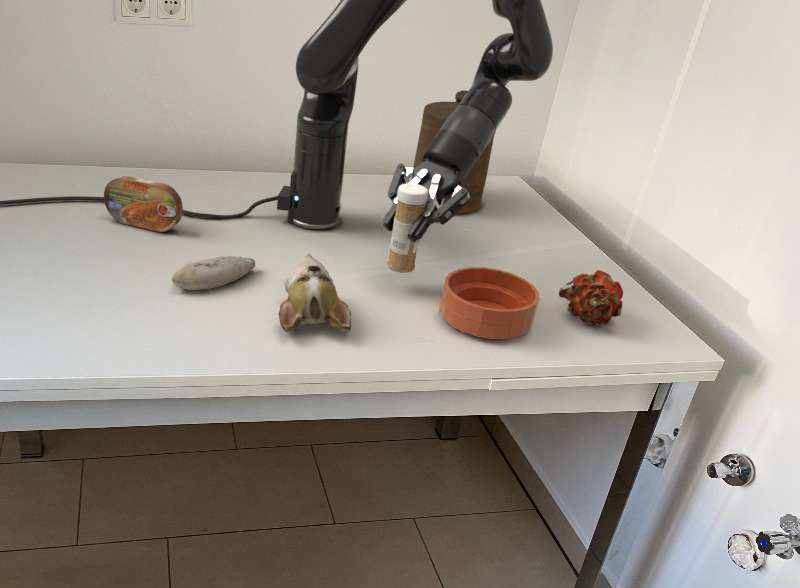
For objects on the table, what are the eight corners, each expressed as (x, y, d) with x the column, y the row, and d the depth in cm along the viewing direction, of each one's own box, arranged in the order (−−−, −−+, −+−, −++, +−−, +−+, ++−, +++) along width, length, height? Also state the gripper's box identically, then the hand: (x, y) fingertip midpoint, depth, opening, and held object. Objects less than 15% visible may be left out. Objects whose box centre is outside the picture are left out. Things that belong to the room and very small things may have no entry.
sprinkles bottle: (420, 270, 127) (434, 190, 119) (398, 276, 124) (411, 195, 117) (402, 259, 130) (415, 180, 122) (380, 264, 127) (392, 184, 120)
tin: (104, 219, 144) (101, 174, 139) (113, 213, 146) (110, 169, 141) (177, 237, 139) (176, 191, 135) (185, 230, 142) (185, 185, 137)
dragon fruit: (593, 348, 120) (566, 319, 131) (645, 319, 119) (613, 292, 129) (570, 304, 117) (544, 278, 128) (624, 274, 115) (593, 250, 126)
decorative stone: (264, 276, 129) (265, 257, 127) (185, 301, 121) (184, 281, 119) (241, 262, 133) (242, 243, 131) (163, 285, 124) (162, 266, 122)
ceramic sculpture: (343, 244, 120) (359, 296, 109) (338, 292, 126) (353, 347, 114) (274, 243, 119) (283, 296, 107) (271, 292, 124) (279, 347, 113)
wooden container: (490, 199, 166) (514, 91, 153) (464, 220, 155) (486, 106, 143) (426, 182, 172) (444, 77, 159) (396, 201, 161) (412, 90, 149)
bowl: (436, 335, 117) (442, 302, 114) (440, 292, 129) (446, 261, 126) (533, 350, 116) (542, 317, 113) (528, 305, 127) (536, 274, 124)
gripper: (416, 116, 124) (355, 206, 123) (492, 142, 115) (427, 238, 115) (431, 144, 130) (373, 229, 129) (504, 170, 122) (442, 261, 121)
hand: (399, 233), depth 122 cm, fingers closed on sprinkles bottle, 4 cm apart
